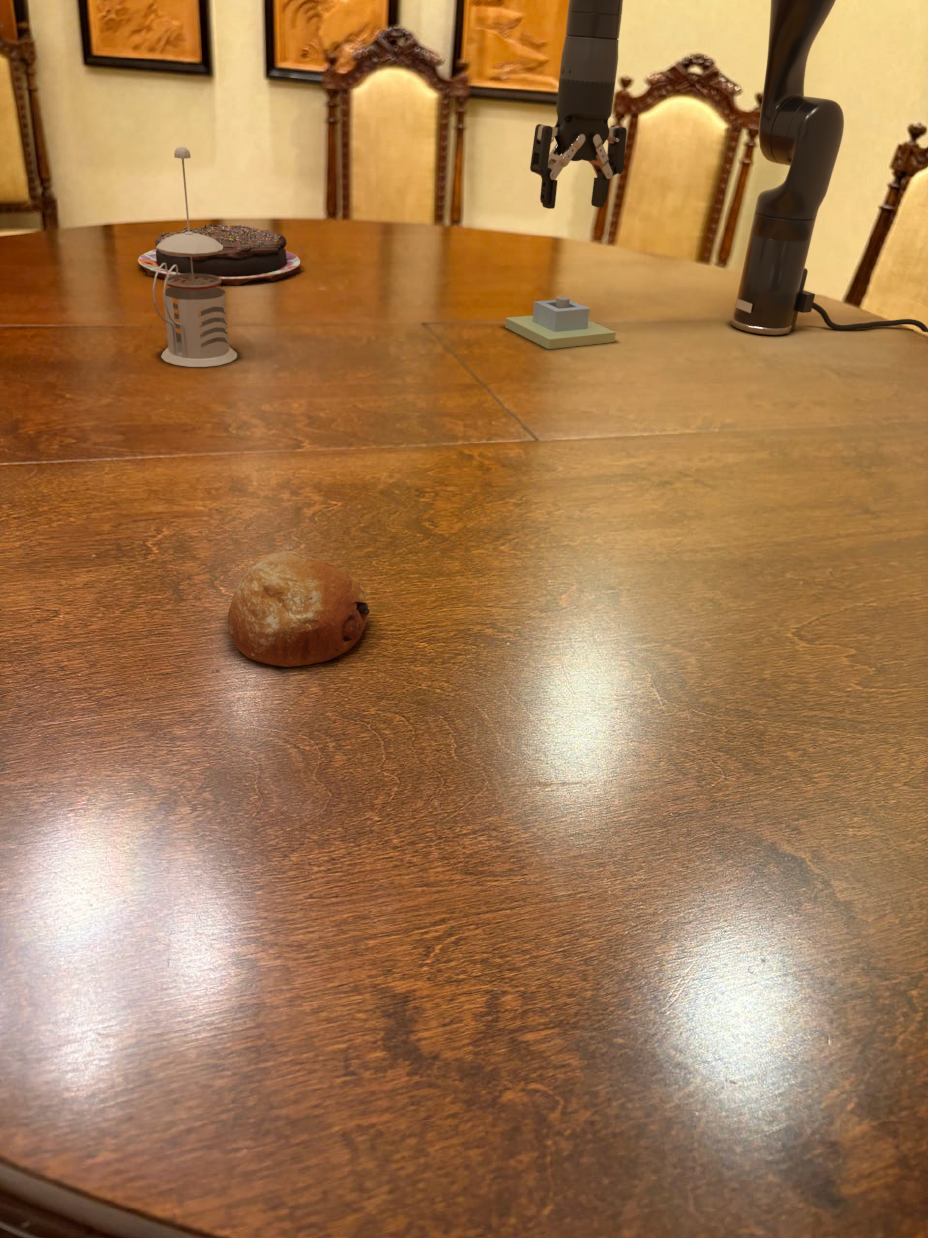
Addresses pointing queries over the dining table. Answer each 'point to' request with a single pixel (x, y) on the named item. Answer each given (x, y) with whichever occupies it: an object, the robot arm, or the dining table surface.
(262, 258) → the chocolate cake
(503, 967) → the dining table surface
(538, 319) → the gray rectangular block
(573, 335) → the green peg base
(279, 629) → the bread roll
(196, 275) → the french press
